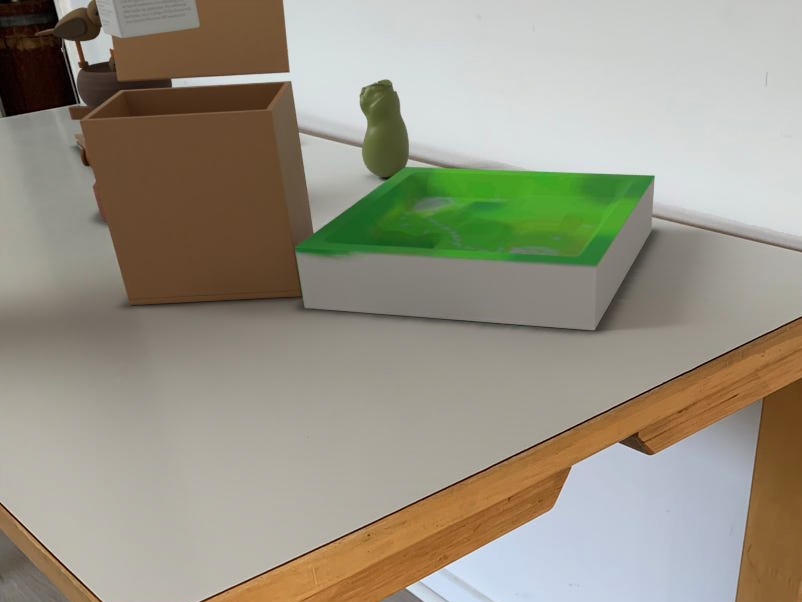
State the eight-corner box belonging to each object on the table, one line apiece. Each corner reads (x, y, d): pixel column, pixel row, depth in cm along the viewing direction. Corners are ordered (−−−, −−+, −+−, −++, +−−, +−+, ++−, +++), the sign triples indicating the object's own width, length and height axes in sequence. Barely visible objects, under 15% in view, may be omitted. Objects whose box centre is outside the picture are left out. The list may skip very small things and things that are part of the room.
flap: (106, 3, 83) (108, 4, 83) (117, 80, 85) (119, 81, 85) (281, -7, 83) (282, -5, 83) (289, 71, 84) (289, 72, 85)
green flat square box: (651, 231, 94) (654, 175, 91) (594, 330, 76) (596, 265, 73) (409, 219, 101) (405, 166, 98) (304, 307, 83) (294, 247, 80)
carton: (129, 305, 85) (79, 120, 76) (161, 259, 94) (120, 90, 85) (301, 296, 85) (271, 110, 76) (316, 251, 94) (291, 80, 85)
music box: (76, 232, 102) (14, 5, 91) (96, 211, 111) (41, 2, 100) (223, 218, 104) (179, -7, 92) (231, 199, 113) (192, -9, 101)
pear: (395, 184, 111) (386, 85, 105) (355, 181, 113) (344, 83, 107) (419, 172, 115) (411, 75, 109) (380, 168, 117) (370, 73, 111)
